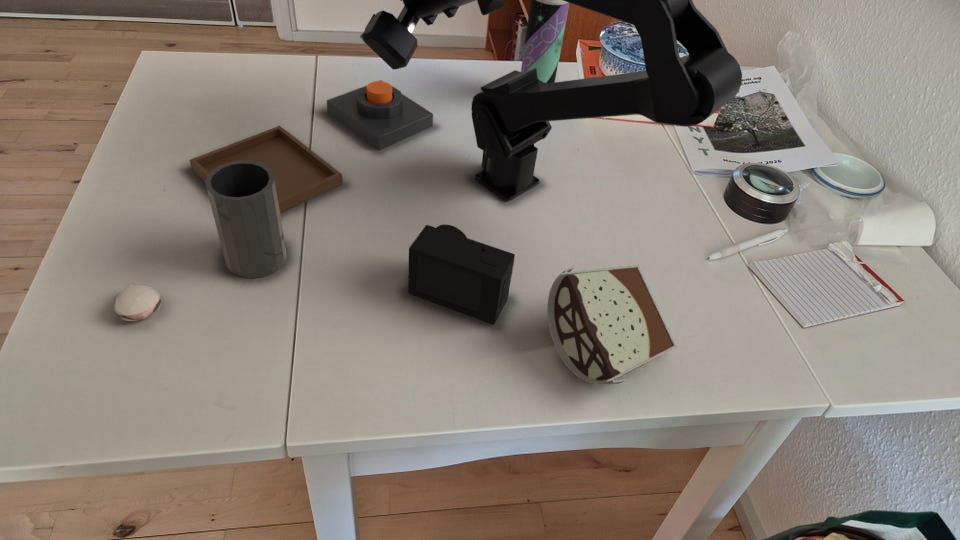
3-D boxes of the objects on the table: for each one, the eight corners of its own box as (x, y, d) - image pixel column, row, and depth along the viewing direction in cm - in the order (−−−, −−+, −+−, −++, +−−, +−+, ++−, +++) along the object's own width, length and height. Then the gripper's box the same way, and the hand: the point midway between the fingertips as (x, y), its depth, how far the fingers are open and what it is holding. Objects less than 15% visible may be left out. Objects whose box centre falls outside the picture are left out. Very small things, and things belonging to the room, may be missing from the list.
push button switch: (432, 126, 98) (433, 102, 95) (379, 150, 92) (378, 125, 90) (381, 92, 103) (380, 69, 101) (327, 113, 98) (325, 89, 95)
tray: (342, 184, 86) (342, 173, 85) (251, 226, 79) (249, 215, 78) (281, 135, 93) (279, 125, 92) (191, 170, 86) (189, 159, 85)
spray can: (513, 91, 107) (531, -37, 93) (546, 90, 108) (568, -37, 94) (521, 109, 103) (540, -22, 89) (555, 108, 104) (579, -21, 90)
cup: (297, 260, 76) (286, 182, 68) (245, 287, 72) (227, 208, 65) (265, 230, 79) (251, 153, 71) (214, 255, 75) (193, 176, 68)
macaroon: (124, 332, 67) (117, 315, 65) (110, 300, 69) (102, 284, 68) (168, 315, 69) (162, 298, 67) (153, 285, 71) (146, 268, 70)
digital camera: (512, 292, 75) (520, 246, 70) (495, 325, 71) (502, 279, 67) (428, 263, 77) (431, 217, 72) (408, 293, 74) (408, 247, 69)
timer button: (397, 99, 96) (397, 88, 94) (377, 107, 94) (377, 96, 92) (381, 89, 97) (381, 78, 96) (361, 97, 95) (361, 86, 94)
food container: (600, 275, 76) (529, 293, 70) (632, 252, 71) (558, 268, 65) (646, 377, 72) (575, 403, 67) (683, 360, 67) (609, 386, 62)
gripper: (439, -131, 77) (365, -85, 88) (367, -11, 71) (298, 22, 83) (498, -55, 84) (422, -21, 95) (437, 60, 78) (364, 81, 90)
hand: (377, 12), depth 90 cm, fingers open, 9 cm apart
